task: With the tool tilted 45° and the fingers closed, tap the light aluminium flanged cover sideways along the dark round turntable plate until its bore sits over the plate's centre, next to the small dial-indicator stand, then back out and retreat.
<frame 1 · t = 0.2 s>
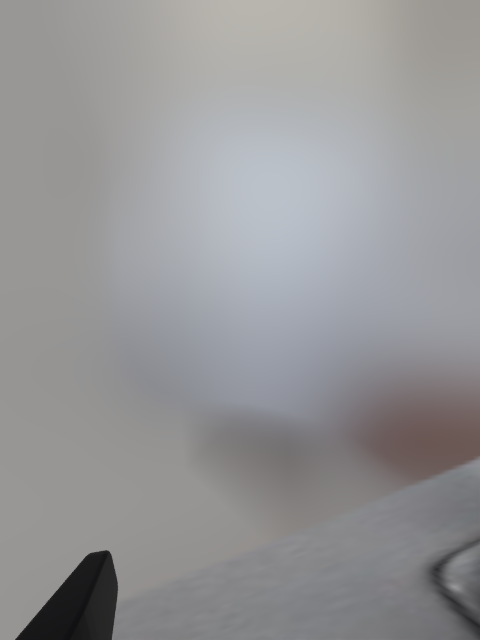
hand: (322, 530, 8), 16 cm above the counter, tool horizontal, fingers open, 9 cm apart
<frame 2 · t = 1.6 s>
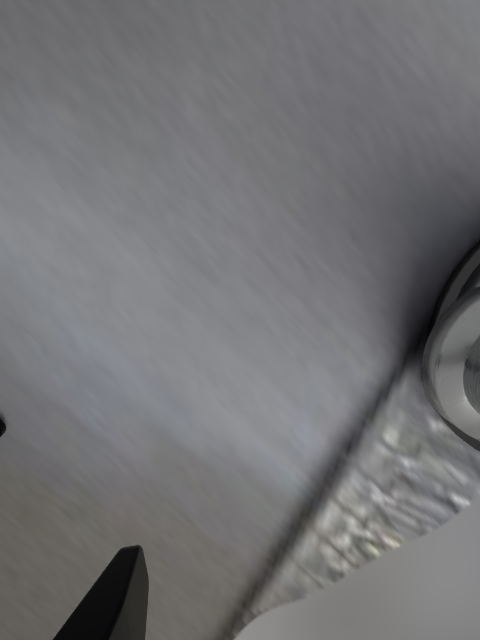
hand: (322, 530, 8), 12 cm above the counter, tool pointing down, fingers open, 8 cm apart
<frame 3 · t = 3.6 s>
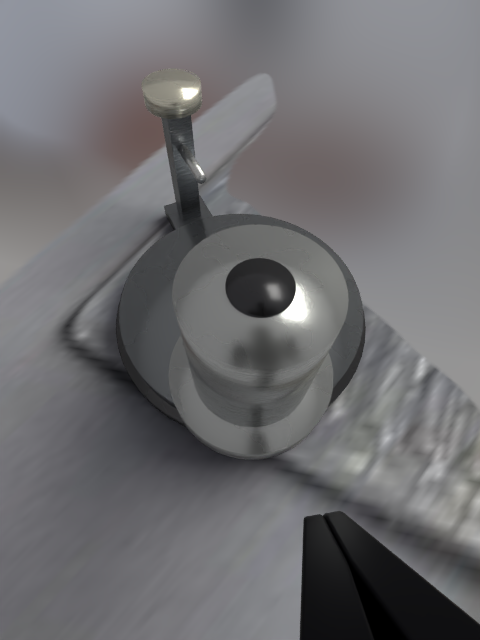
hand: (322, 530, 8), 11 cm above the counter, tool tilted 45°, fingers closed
turntable: (241, 314, 24), on the counter
cover: (249, 378, 19), point 2 cm above the counter, touching turntable
indicator stand: (190, 220, 28), on the counter
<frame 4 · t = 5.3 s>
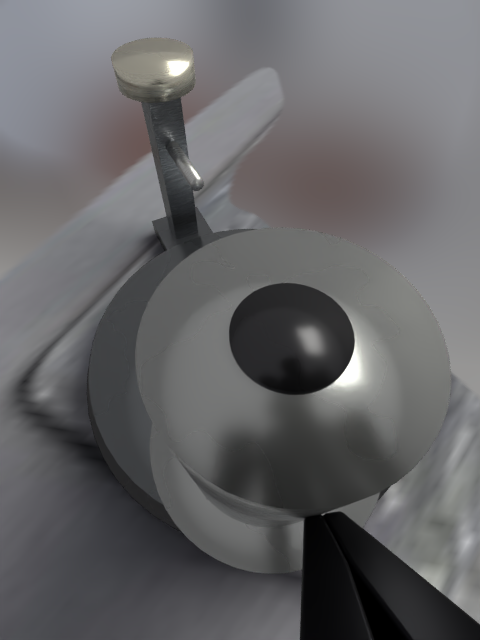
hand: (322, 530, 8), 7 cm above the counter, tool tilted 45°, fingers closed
turntable: (253, 360, 18), on the counter
cover: (264, 441, 14), point 2 cm above the counter, touching gripper, turntable
indicator stand: (185, 238, 23), on the counter
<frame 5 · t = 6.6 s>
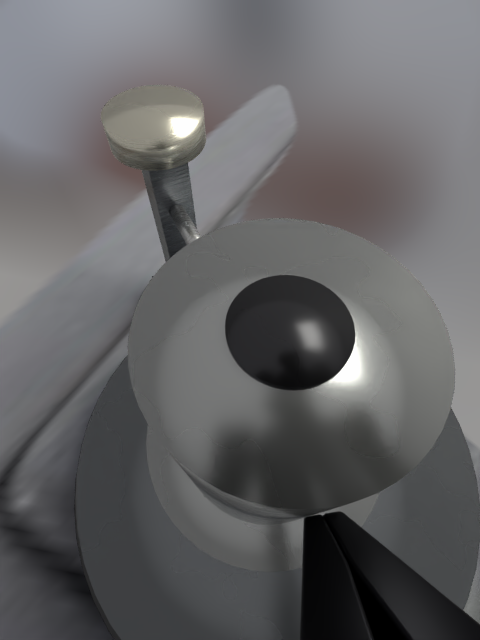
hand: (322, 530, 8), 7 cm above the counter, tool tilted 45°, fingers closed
turntable: (271, 457, 15), on the counter
cover: (262, 438, 14), point 2 cm above the counter, touching turntable
indicator stand: (189, 295, 20), on the counter
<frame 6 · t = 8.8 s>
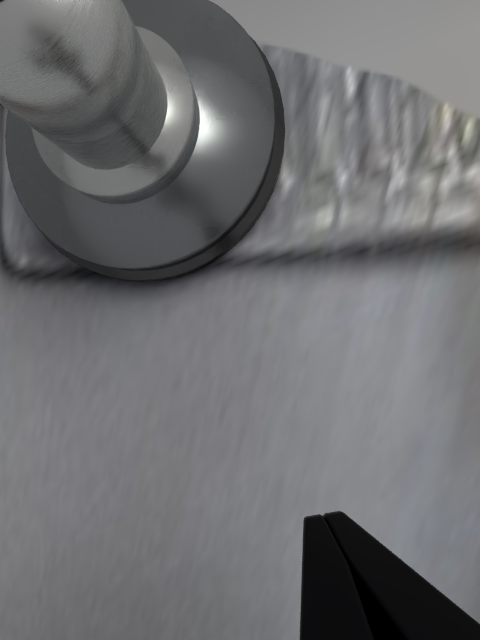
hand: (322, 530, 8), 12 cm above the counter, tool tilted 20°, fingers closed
turntable: (145, 143, 21), on the counter
cover: (123, 125, 19), point 2 cm above the counter, touching turntable
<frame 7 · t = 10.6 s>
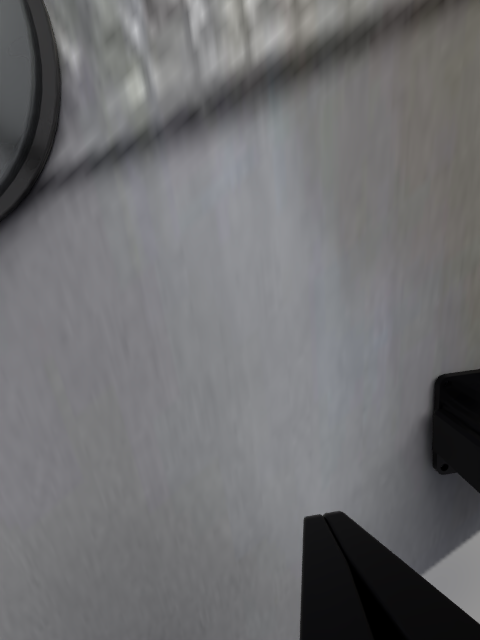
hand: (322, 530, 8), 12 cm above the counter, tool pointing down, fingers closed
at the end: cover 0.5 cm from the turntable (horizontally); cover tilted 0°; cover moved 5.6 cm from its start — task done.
